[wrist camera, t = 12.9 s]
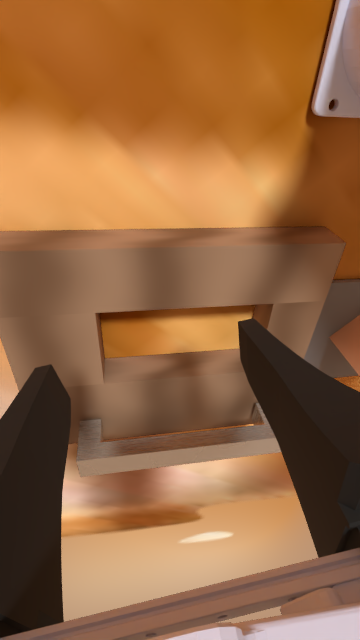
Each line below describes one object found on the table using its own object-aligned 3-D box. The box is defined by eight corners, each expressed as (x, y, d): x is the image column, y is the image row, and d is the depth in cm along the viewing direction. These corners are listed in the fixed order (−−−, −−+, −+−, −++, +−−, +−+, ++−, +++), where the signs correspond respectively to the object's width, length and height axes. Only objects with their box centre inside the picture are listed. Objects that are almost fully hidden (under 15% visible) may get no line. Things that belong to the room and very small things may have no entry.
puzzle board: (324, 226, 21) (346, 243, 19) (270, 398, 31) (280, 420, 29) (-15, 231, 18) (-30, 252, 16) (44, 420, 28) (39, 447, 26)
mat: (442, 275, 26) (446, 278, 25) (387, 369, 32) (390, 372, 31) (320, 280, 24) (323, 283, 24) (287, 378, 30) (288, 381, 30)
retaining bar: (273, 401, 27) (290, 436, 25) (268, 417, 28) (283, 451, 26) (80, 420, 25) (76, 461, 22) (83, 436, 26) (80, 477, 23)
